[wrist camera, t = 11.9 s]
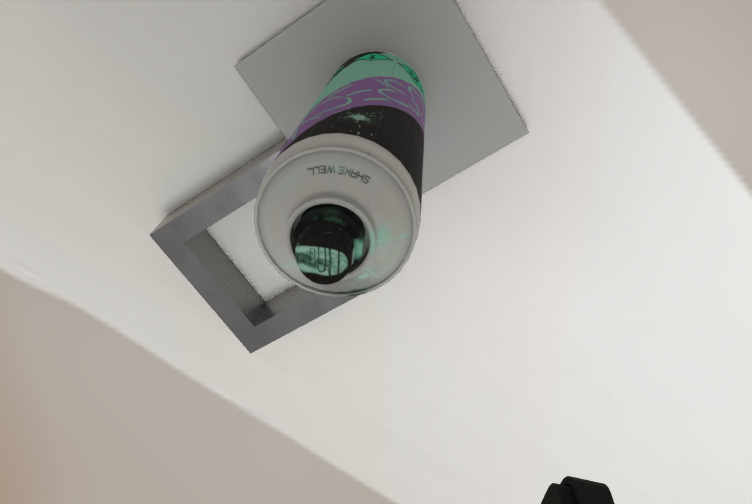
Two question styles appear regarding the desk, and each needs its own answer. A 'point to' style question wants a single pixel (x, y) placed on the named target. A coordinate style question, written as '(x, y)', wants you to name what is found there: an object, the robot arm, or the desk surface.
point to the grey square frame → (220, 276)
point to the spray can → (349, 181)
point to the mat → (415, 44)
